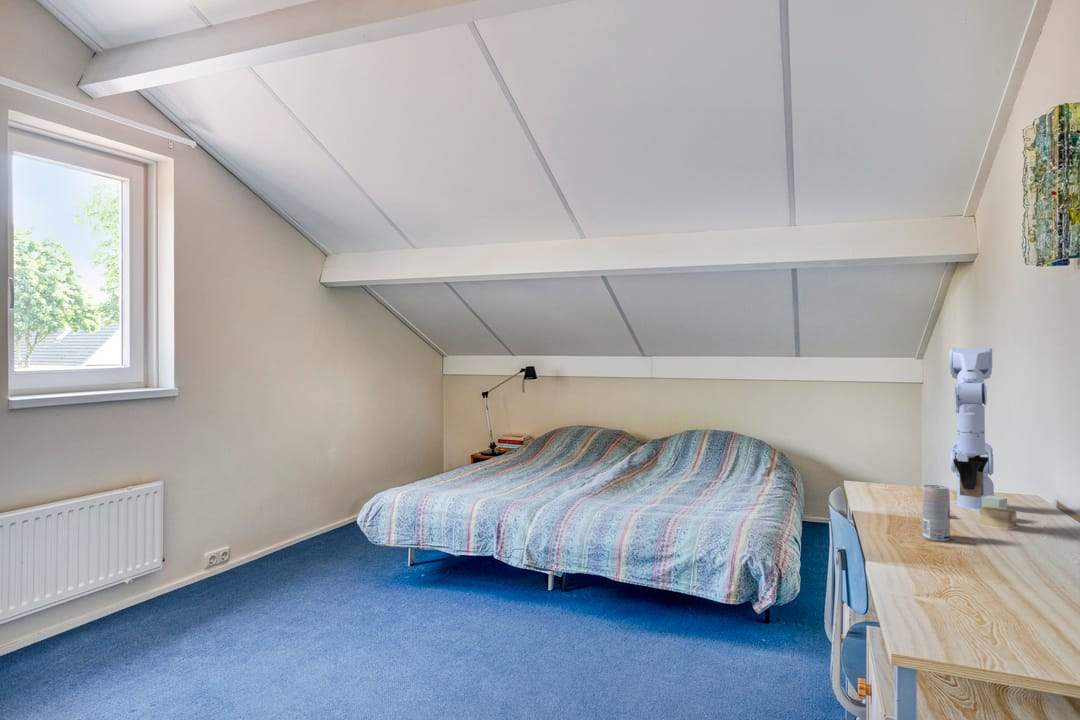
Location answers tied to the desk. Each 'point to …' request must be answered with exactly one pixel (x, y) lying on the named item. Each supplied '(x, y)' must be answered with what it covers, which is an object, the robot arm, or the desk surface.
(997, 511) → the base block
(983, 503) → the sage block
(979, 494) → the walnut block
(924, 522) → the energy drink
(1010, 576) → the desk surface
